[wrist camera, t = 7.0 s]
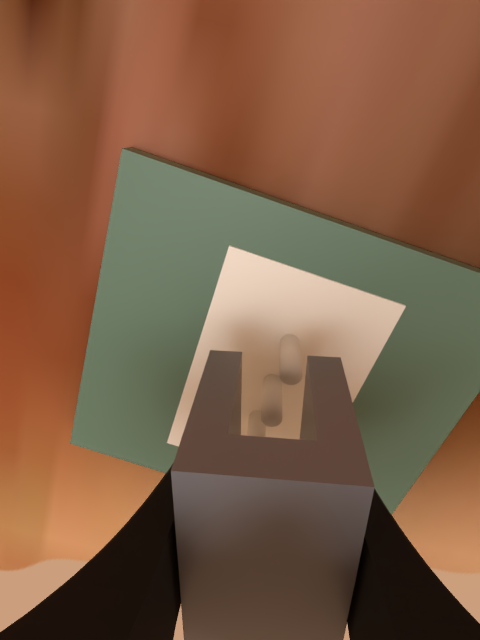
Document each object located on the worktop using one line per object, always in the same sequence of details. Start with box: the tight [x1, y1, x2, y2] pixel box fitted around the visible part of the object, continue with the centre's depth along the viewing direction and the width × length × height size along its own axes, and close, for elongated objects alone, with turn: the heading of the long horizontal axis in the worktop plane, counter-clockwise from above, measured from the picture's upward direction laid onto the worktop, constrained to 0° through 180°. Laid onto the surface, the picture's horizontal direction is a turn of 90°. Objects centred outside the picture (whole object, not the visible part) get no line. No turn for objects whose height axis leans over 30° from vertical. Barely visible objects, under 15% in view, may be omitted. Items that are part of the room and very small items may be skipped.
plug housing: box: [171, 350, 374, 640], centre depth 12 cm, size 4×7×5 cm, turn 179°
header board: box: [70, 147, 480, 515], centre depth 17 cm, size 16×14×4 cm
